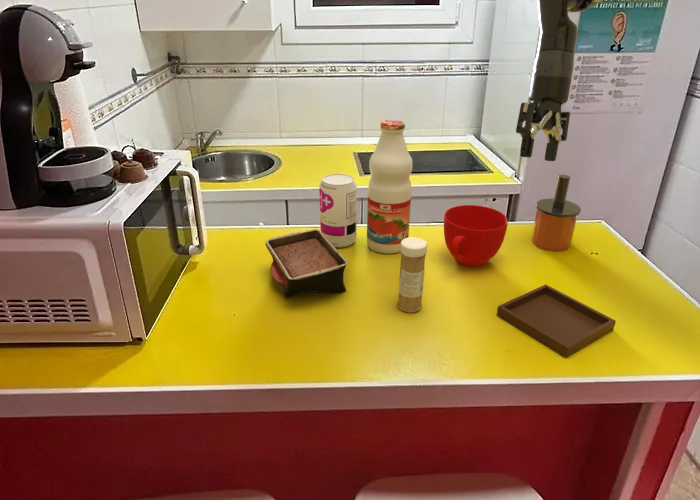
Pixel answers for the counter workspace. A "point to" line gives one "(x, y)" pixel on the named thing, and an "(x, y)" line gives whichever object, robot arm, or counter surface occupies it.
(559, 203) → the grey peg stand
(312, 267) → the baking dish
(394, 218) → the fruit juice
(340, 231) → the supplement can
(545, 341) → the tray
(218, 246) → the counter surface
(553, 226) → the jar
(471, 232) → the ceramic cup
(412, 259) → the sprinkles bottle
